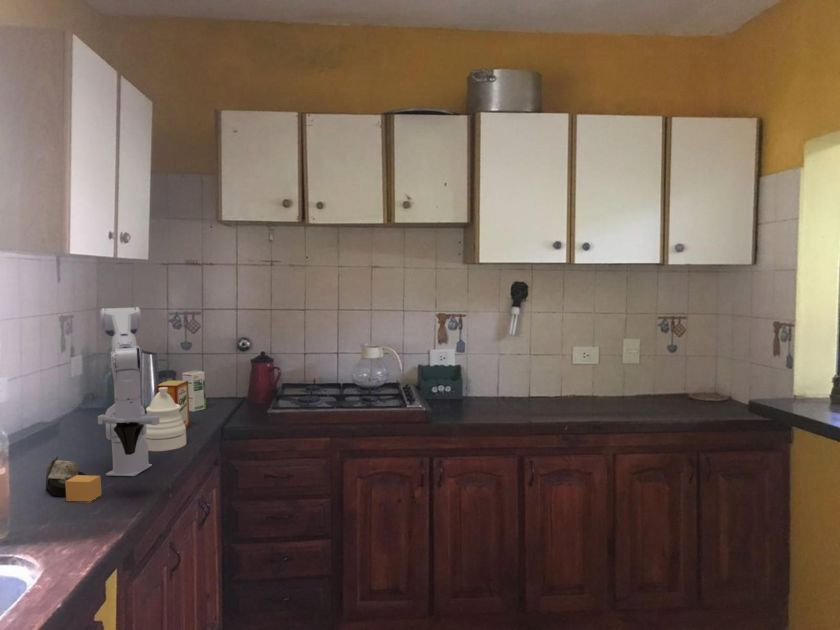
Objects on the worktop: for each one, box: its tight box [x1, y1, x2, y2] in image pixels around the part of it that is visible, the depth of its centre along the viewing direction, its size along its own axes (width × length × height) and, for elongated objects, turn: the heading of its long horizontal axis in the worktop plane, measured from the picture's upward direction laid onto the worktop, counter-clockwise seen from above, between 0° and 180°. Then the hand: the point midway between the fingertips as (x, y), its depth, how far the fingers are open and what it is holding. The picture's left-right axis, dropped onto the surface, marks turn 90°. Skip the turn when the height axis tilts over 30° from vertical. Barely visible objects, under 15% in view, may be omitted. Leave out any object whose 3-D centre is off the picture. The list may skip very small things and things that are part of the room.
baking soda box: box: [156, 379, 191, 429], centre depth 226 cm, size 10×6×16 cm
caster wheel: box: [45, 455, 87, 497], centre depth 167 cm, size 7×11×10 cm
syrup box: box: [182, 370, 207, 412], centre depth 255 cm, size 6×6×14 cm
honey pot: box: [143, 387, 187, 452], centre depth 206 cm, size 13×13×18 cm
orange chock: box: [65, 474, 102, 503], centre depth 161 cm, size 4×6×5 cm
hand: (130, 453), depth 163 cm, fingers closed
